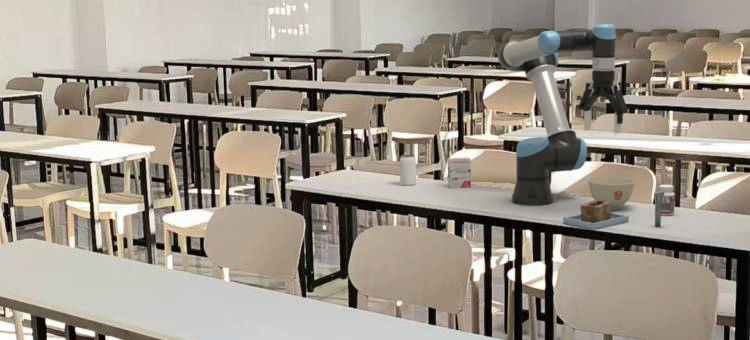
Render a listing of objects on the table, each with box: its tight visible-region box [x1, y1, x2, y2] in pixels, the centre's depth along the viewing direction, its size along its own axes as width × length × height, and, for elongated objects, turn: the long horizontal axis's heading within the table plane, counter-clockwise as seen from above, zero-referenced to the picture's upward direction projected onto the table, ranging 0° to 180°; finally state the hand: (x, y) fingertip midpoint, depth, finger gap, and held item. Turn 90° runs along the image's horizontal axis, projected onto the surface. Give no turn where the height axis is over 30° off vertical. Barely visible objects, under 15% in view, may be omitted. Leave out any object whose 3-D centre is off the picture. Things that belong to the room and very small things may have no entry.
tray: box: [562, 212, 630, 231], centre depth 339 cm, size 13×18×2 cm
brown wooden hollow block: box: [580, 199, 613, 223], centre depth 338 cm, size 12×6×6 cm, turn 145°
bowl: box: [588, 176, 636, 211], centre depth 360 cm, size 16×16×10 cm
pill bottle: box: [658, 184, 676, 217], centre depth 348 cm, size 6×6×10 cm
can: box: [399, 154, 417, 187], centre depth 414 cm, size 6×6×12 cm
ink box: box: [447, 156, 472, 189], centre depth 407 cm, size 8×5×12 cm, turn 99°
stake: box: [653, 191, 664, 228], centre depth 331 cm, size 2×4×11 cm, turn 126°
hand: (602, 131), depth 351 cm, fingers open, 13 cm apart
